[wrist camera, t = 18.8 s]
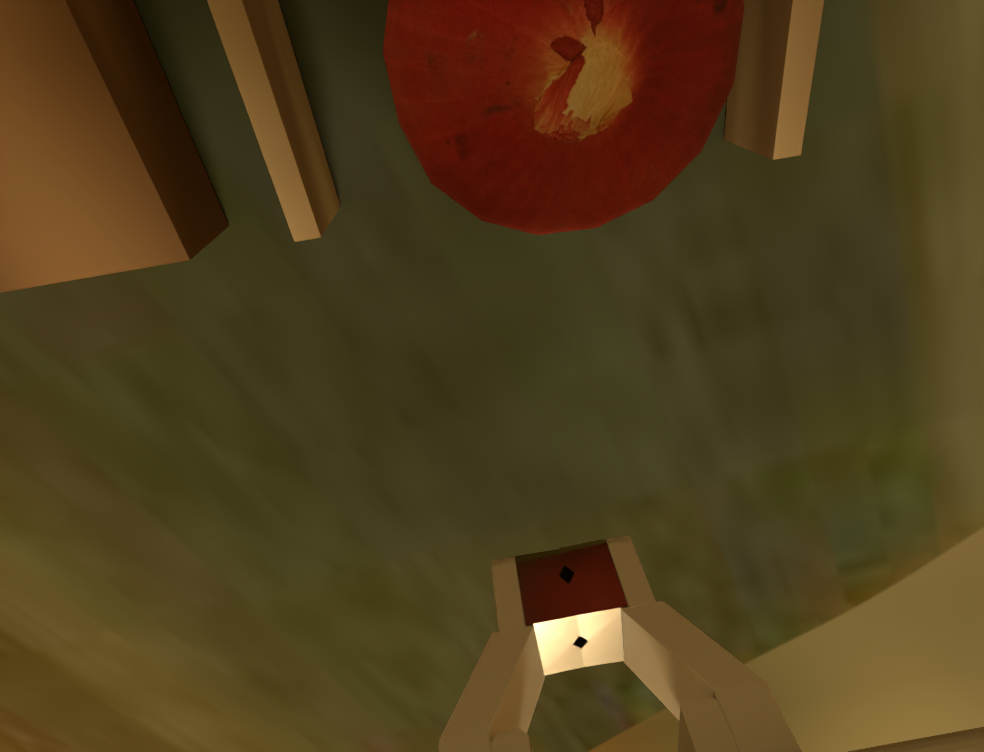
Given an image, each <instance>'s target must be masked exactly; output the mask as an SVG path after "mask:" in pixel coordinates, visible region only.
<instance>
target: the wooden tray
mask: <svg viewBox="0 0 984 752" xmlns="http://www.w3.org/2000/svg"><path fill="white" fill-rule="evenodd" d="M743 1H744V6H745V8H744V15H743V22H742V30H741V37H740V44H739V52H738V59H737V66H736V74H735V81H734V85H733V87H732V89H731V91H730V93H729V95H728V97H727V107H726V120H725V133H724V140H725V141H728V142H730V143H733V144H735V145H737V146H740V147H742V148H745V149H747V150H750V151H752V152H755V153H757V154H760V155H762V156H765V157H767V158H770V159H772V160H775V159H780V158H786V157H792V156H798V155H801V150H802V143H803V137H804V130H805V123H806V117H807V110H808V104H809V97H810V90H811V84H812V77H813V71H814V64H815V57H816V51H817V44H818V38H819V31H820V24H821V18H822V11H823V5H824V0H743ZM207 2H208V5H209V8H210V10H211V13H212V16H213V19H214V21H215V24H216V27H217V30H218V32H219V35H220V38H221V41H222V43H223V46H224V49H225V52H226V54H227V57H228V60H229V63H230V65H231V68H232V71H233V74H234V76H235V79H236V82H237V85H238V87H239V90H240V93H241V96H242V98H243V101H244V104H245V107H246V109H247V112H248V115H249V118H250V120H251V123H252V126H253V129H254V132H255V134H256V137H257V140H258V143H259V145H260V148H261V151H262V154H263V156H264V159H265V162H266V165H267V167H268V170H269V173H270V176H271V178H272V181H273V184H274V187H275V189H276V192H277V195H278V198H279V200H280V203H281V206H282V209H283V211H284V214H285V217H286V220H287V222H288V225H289V228H290V231H291V233H292V236H293V239H294V242H297V241H303V240H309V239H315V238H320V237H322V235H323V233H324V232H325V230H326V229H327V227H328V226H329V224H330V222H331V221H332V219H333V218H334V216H335V215H336V213H337V211H338V210H339V208H340V207H341V206H340V203H339V199H338V196H337V193H336V189H335V186H334V183H333V180H332V176H331V173H330V170H329V166H328V163H327V160H326V157H325V153H324V150H323V147H322V143H321V140H320V137H319V133H318V130H317V127H316V124H315V120H314V117H313V114H312V110H311V107H310V104H309V101H308V97H307V94H306V91H305V87H304V84H303V81H302V78H301V74H300V71H299V68H298V64H297V61H296V58H295V54H294V51H293V48H292V45H291V41H290V38H289V35H288V31H287V28H286V25H285V22H284V18H283V15H282V12H281V8H280V5H279V2H278V0H207ZM228 226H229V225H228V222H227V220H226V218H225V215H224V213H223V211H222V208H221V206H220V204H219V201H218V199H217V197H216V194H215V192H214V189H213V187H212V185H211V182H210V180H209V178H208V175H207V173H206V171H205V168H204V166H203V164H202V161H201V159H200V157H199V154H198V152H197V149H196V147H195V145H194V142H193V140H192V138H191V135H190V133H189V131H188V128H187V126H186V124H185V121H184V119H183V116H182V114H181V112H180V109H179V107H178V105H177V102H176V100H175V98H174V95H173V93H172V91H171V88H170V86H169V83H168V81H167V79H166V76H165V74H164V72H163V69H162V67H161V65H160V62H159V60H158V58H157V55H156V53H155V50H154V48H153V46H152V43H151V41H150V39H149V36H148V34H147V32H146V29H145V27H144V25H143V22H142V20H141V17H140V15H139V13H138V10H137V8H136V6H135V3H134V1H133V0H0V292H6V291H12V290H18V289H24V288H29V287H35V286H41V285H47V284H53V283H59V282H64V281H70V280H76V279H82V278H88V277H93V276H99V275H105V274H111V273H117V272H123V271H128V270H134V269H140V268H146V267H152V266H157V265H163V264H169V263H175V262H181V261H187V260H190V259H192V258H193V257H194V256H195V255H196V254H197V253H198V252H200V251H201V250H202V249H203V248H204V247H205V246H206V245H208V244H209V243H210V242H211V241H212V240H213V239H214V238H216V237H217V236H218V235H219V234H220V233H221V232H223V231H224V230H225V229H226V228H227V227H228Z"/></svg>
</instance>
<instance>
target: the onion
mask: <svg viewBox="0 0 984 752" xmlns="http://www.w3.org/2000/svg"><path fill="white" fill-rule="evenodd" d="M744 8H745V6H744V1H743V0H389V1H388V10H387V18H386V27H385V36H384V44H383V54H384V59H385V63H386V68H387V72H388V77H389V81H390V86H391V90H392V94H393V99H394V103H395V108H396V112H397V117H398V121H399V124H400V126H401V128H402V130H403V132H404V133H405V135H406V137H407V139H408V141H409V143H410V145H411V146H412V148H413V150H414V152H415V154H416V156H417V157H418V159H419V161H420V163H421V165H422V167H423V168H424V170H425V172H426V174H427V176H428V178H429V180H430V181H431V183H432V184H433V185H434V186H436V187H437V188H438V189H440V190H441V191H443V192H444V193H445V194H447V195H448V196H449V197H451V198H452V199H453V200H455V201H456V202H457V203H459V204H460V205H461V206H463V207H464V208H465V209H467V210H468V211H470V212H471V213H472V214H474V215H475V216H476V217H478V218H479V219H480V220H482V221H486V222H490V223H493V224H497V225H501V226H505V227H509V228H513V229H516V230H520V231H524V232H528V233H532V234H536V235H541V234H549V233H557V232H565V231H574V230H582V229H590V228H596V227H599V226H601V225H603V224H605V223H607V222H609V221H611V220H613V219H615V218H617V217H619V216H621V215H623V214H625V213H627V212H629V211H631V210H633V209H636V208H638V207H640V206H642V205H644V204H646V203H648V202H650V201H652V200H653V199H654V198H655V197H656V196H657V195H658V194H659V193H660V192H661V191H662V190H663V189H664V188H665V187H666V186H667V185H668V184H669V183H670V182H671V181H672V180H673V179H674V178H675V177H676V176H677V175H678V174H679V173H680V172H681V171H682V170H683V169H684V168H685V167H686V166H687V165H688V164H689V163H690V162H691V161H692V160H693V159H694V158H695V157H696V156H697V155H698V154H699V153H700V152H701V151H702V149H703V147H704V145H705V143H706V141H707V139H708V137H709V135H710V133H711V130H712V128H713V126H714V124H715V122H716V120H717V118H718V116H719V114H720V112H721V110H722V108H723V106H724V104H725V102H726V100H727V97H728V95H729V93H730V91H731V89H732V87H733V85H734V81H735V74H736V66H737V59H738V52H739V44H740V37H741V30H742V22H743V15H744Z"/></svg>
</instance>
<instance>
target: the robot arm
mask: <svg viewBox="0 0 984 752" xmlns="http://www.w3.org/2000/svg"><path fill="white" fill-rule="evenodd" d="M515 558H516V559H515ZM492 576H493V585H494V594H495V603H496V612H497V621H498V630H499V631H498V632H493V633H492V634H491V636H490V638H489V640H488V642H487V644H486V646H485V648H484V650H483V652H482V654H481V656H480V658H479V660H478V662H477V664H476V666H475V668H474V670H473V672H472V674H471V677H470V679H469V681H468V683H467V685H466V687H465V689H464V691H463V693H462V695H461V697H460V699H459V701H458V703H457V705H456V707H455V709H454V711H453V713H452V715H451V717H450V719H449V721H448V723H447V725H446V728H445V730H444V732H443V734H442V736H441V738H440V740H439V752H533V751H532V747H531V744H530V740H529V736H528V734H527V730H528V727H529V724H530V721H531V718H532V715H533V712H534V709H535V706H536V703H537V700H538V697H539V694H540V691H541V688H542V685H543V682H544V679H545V677H544V675H548V674H553V673H558V672H562V671H567V670H572V669H576V668H581V667H586V666H593V665H599V664H605V663H612V662H618V661H625V664H626V665H627V666H628V667H629V668H630V669H631V670H632V671H633V672H634V673H635V674H636V675H637V676H638V677H639V679H640V680H641V681H642V682H643V683H644V684H645V685H646V686H647V687H648V688H649V689H650V690H651V691H652V692H653V693H654V695H655V696H656V697H657V698H658V699H659V700H660V701H661V702H662V703H663V704H664V705H665V706H666V707H667V708H668V709H669V710H670V711H671V713H672V714H673V715H674V716H675V717H676V718H677V719H678V720H679V737H678V752H802V751H801V749H800V747H799V746H798V744H797V742H796V740H795V738H794V736H793V734H792V732H791V730H790V728H789V726H788V724H787V723H786V720H785V718H784V717H783V715H782V712H781V711H780V709H779V707H778V705H777V703H776V701H775V699H774V697H773V695H772V693H771V691H770V689H769V687H768V685H767V684H766V682H765V681H764V680H763V679H762V678H761V677H759V676H758V675H756V674H755V673H754V672H753V671H752V670H750V669H749V668H748V667H747V666H745V665H744V664H743V663H741V662H740V661H739V660H738V659H736V658H735V657H734V656H733V655H731V654H730V653H729V652H727V651H726V650H725V649H724V648H722V647H721V646H720V645H719V644H717V643H716V642H715V641H713V640H712V639H711V638H710V637H708V636H707V635H706V634H705V633H703V632H702V631H701V630H699V629H698V628H697V627H696V626H694V625H693V624H692V623H691V622H689V621H688V620H687V619H685V618H684V617H683V616H682V615H680V614H679V613H678V612H677V611H675V610H674V609H673V608H671V607H670V606H669V605H668V604H666V603H665V602H664V601H659V602H656V601H655V598H654V596H653V593H652V591H651V588H650V586H649V583H648V581H647V578H646V576H645V573H644V571H643V568H642V565H641V563H640V560H639V558H638V555H637V553H636V550H635V548H634V545H633V543H632V540H631V539H630V537H629V536H628V535H625V536H620V537H615V538H610V539H605V540H604V539H602V540H597V541H592V542H587V543H582V544H577V545H572V546H567V547H562V548H560V549H557V550H551V551H545V552H538V553H532V554H526V555H520V556H513V557H508V558H502V559H497V560H492ZM848 752H984V727H980V728H974V729H969V730H963V731H958V732H953V733H947V734H942V735H936V736H931V737H925V738H919V739H914V740H909V741H903V742H898V743H892V744H887V745H881V746H876V747H870V748H865V749H859V750H854V751H848Z"/></svg>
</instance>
